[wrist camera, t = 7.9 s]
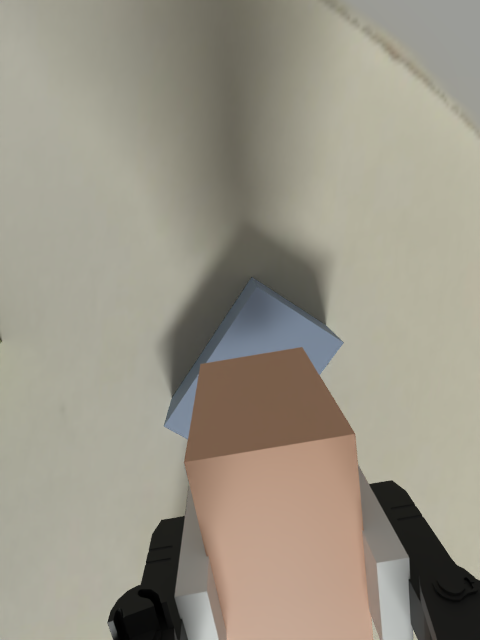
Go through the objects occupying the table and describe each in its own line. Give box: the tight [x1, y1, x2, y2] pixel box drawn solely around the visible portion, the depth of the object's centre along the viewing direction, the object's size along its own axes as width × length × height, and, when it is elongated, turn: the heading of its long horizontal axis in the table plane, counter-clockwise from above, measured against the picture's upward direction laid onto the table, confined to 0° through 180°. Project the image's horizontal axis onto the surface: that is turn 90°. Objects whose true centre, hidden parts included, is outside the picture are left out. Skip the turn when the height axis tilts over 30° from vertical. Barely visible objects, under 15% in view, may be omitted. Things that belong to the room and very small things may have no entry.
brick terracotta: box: [184, 347, 373, 640], centre depth 12 cm, size 8×4×6 cm, turn 9°
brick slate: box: [164, 277, 344, 439], centre depth 23 cm, size 10×6×4 cm, turn 147°
